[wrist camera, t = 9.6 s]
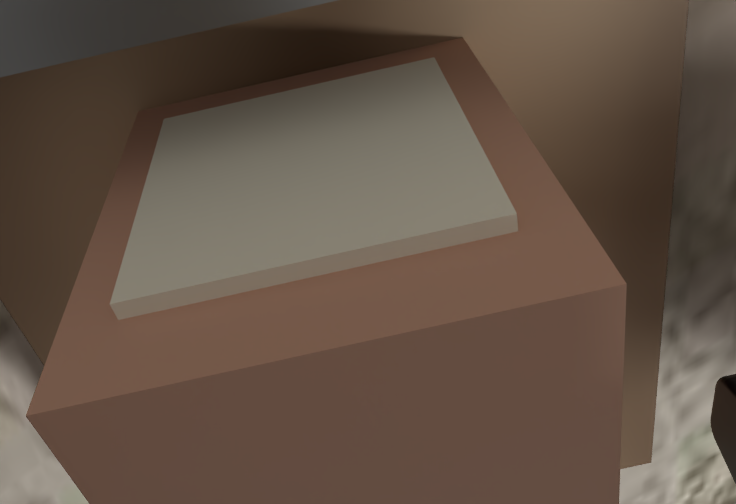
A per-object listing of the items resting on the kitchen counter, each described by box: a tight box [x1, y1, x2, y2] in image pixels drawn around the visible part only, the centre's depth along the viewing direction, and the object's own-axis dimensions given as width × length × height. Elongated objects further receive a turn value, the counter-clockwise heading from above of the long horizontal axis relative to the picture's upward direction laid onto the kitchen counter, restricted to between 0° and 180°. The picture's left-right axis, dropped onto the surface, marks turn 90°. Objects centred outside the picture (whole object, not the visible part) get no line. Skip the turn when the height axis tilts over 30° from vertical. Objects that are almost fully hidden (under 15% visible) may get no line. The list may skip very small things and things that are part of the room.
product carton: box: [26, 37, 627, 504], centre depth 10 cm, size 7×5×6 cm
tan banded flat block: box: [0, 0, 689, 469], centre depth 13 cm, size 12×14×4 cm
